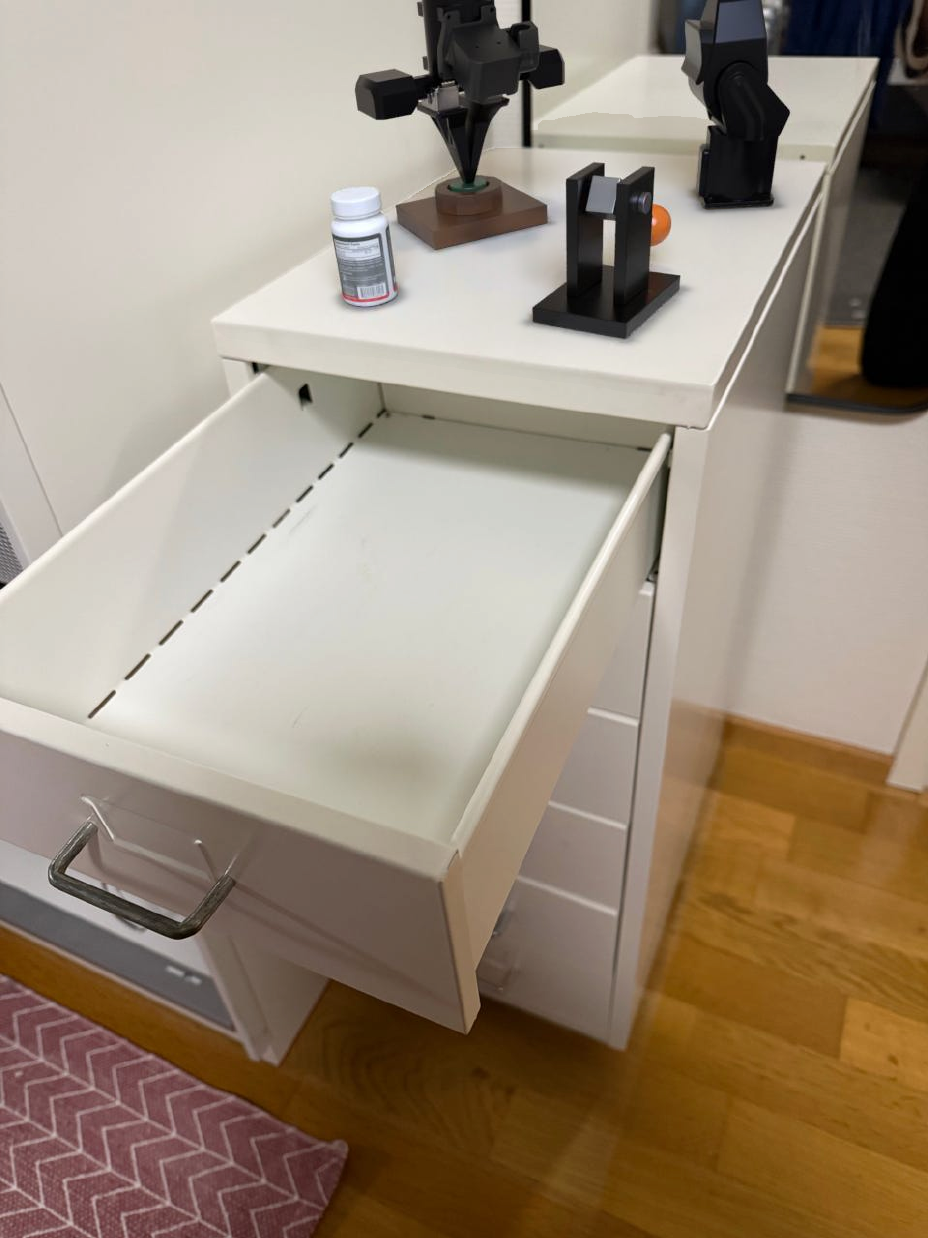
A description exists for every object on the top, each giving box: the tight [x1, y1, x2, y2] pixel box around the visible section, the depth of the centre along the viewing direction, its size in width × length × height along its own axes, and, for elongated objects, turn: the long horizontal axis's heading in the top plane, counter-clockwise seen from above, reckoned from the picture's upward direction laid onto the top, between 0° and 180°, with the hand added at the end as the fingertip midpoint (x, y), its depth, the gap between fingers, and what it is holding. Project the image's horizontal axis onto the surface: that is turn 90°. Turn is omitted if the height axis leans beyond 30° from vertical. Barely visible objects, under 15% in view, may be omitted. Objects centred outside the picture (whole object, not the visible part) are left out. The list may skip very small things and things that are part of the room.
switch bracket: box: [531, 161, 681, 339], centre depth 67 cm, size 10×8×10 cm
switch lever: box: [586, 176, 672, 247], centre depth 68 cm, size 12×3×3 cm, turn 147°
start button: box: [450, 177, 487, 192], centre depth 86 cm, size 4×4×2 cm
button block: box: [395, 174, 548, 250], centre depth 87 cm, size 12×10×4 cm
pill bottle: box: [330, 186, 399, 308], centre depth 73 cm, size 5×5×8 cm
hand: (468, 182), depth 85 cm, fingers closed, pressing on start button
